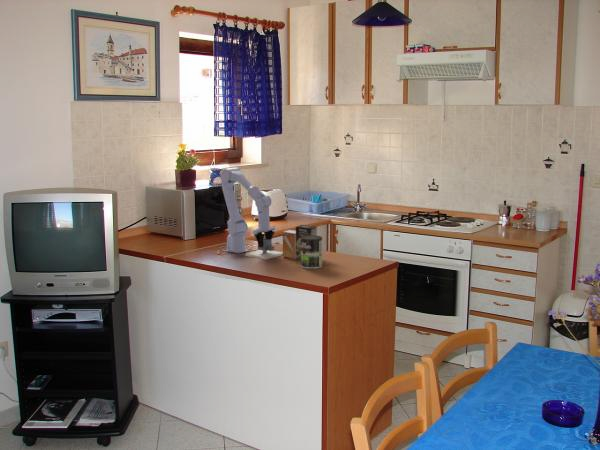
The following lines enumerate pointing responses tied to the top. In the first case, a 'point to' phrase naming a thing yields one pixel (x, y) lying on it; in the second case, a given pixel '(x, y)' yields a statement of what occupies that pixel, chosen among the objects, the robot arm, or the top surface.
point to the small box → (289, 244)
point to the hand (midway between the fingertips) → (264, 246)
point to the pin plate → (264, 254)
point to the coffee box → (303, 231)
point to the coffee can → (311, 252)
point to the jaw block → (266, 245)
